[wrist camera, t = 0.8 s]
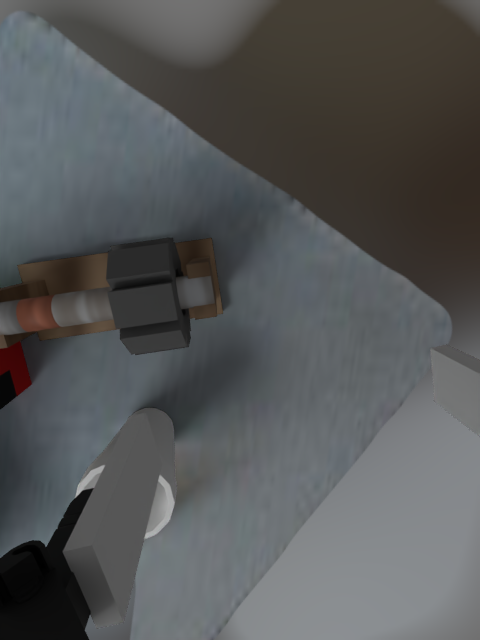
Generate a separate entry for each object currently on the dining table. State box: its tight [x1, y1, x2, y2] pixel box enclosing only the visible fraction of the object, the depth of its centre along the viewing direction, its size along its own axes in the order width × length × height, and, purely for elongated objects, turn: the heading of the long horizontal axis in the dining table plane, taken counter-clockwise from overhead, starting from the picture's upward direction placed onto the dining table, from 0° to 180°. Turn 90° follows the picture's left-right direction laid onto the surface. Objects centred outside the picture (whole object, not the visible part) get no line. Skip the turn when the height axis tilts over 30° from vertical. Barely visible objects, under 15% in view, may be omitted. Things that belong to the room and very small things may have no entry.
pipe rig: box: [0, 238, 223, 349], centre depth 35 cm, size 22×9×12 cm, turn 98°
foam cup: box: [75, 408, 177, 539], centre depth 39 cm, size 10×9×13 cm
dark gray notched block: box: [106, 238, 191, 355], centre depth 31 cm, size 5×10×10 cm, turn 8°
